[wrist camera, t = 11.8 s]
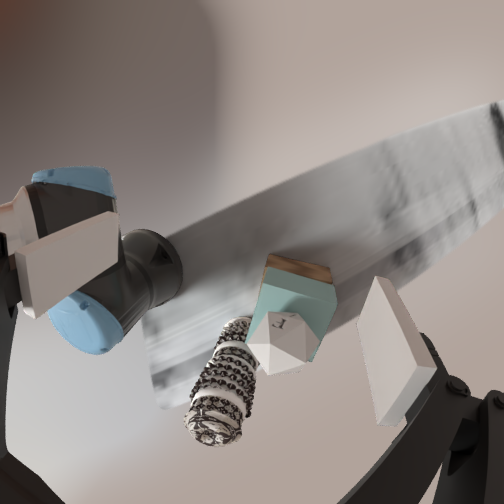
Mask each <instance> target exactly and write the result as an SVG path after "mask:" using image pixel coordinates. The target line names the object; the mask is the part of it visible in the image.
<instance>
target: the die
mask: <svg viewBox="0 0 504 504" xmlns="http://www.w3.org/2000/svg"><path fill="white" fill-rule="evenodd" d="M319 343H320V341H319V340H318V338H317V337H316V335H315V334H314V333H313V331H312V330H311V329H310V327H309V326H308V325H307V323H306V322H305V321H304V320H303V318H302V317H301V316H300V315H299V314H298V313H291V312H288V313H287V312H270V311H268V312H267V313H266V315H265V316H264V318H263V319H262V321H261V322H260V324H259V326H258V327H257V329H256V330H255V332H254V333H253V335H252V336H251V338H250V339H249V341H248V342H247V345H248V347H249V348H250V350H251V351H252V353H253V354H254V356H255V357H256V359H257V360H258V361H259V363H260V364H261V366H262V367H263V369H264V370H265V372H266V373H267V374H268V376H270V375H280V374H289V373H297V372H300V370H301V369H302V368H303V366H304V365H305V364H306V362H307V361H308V359H309V358H310V356H311V355H312V353H313V352H314V350H315V349H316V347H317V346H318V344H319Z"/></svg>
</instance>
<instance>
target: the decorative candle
mask: <svg viewBox="0 0 504 504" xmlns="http://www.w3.org/2000/svg"><path fill="white" fill-rule="evenodd" d="M251 321H252V319H250V318H248V317H237V318H233V319H231V320H230V321H228V322H227V323H226V324H225V327H224V328H223V331H222V332H221V335H223V336H219V341H218V342H217V343H216V345H217V346H215V347H214V351H215V352H214V355H213V357H212V359H211V360H210V361H208V364H207V366H206V367H205V368H204V369H203V370H204V371H203V372H202V373H201V375H200V379H198V382H196V383H195V385H196V386H194V388H193V389H192V391H191V393H192V394H190V399H192V400H191V408H190V411H189V412H188V413H187V414H186V415H185V417H184V423H185V426H186V428H187V429H188V430H189V431H190V434H191V435H192V436H193V437H194V438H195V439H196V440H198V441H199V442H201V443H203V444H206V445H208V446H213V447H221V446H225V445H228V444H232V443H234V442H237V441H238V440H239V439H240V438H241V436H242V431H241V426H242V425H241V424H242V423H243V421H244V420H245V417H246V418H248V417H250V416H251V412H250V410H251V409H252V404H253V402H252V400H253V399H254V396H253V395H252V394H254V392H255V383H256V370H257V367H258V365H259V364H260V363H259V361H258V360H257V359H256V357H255V356H254V354H253V353H252V351H251V350H250V348H249V347H248V345H247V344H245V341H246V337H247V334H248V331H249V327H250V324H251ZM199 389H200V390H199ZM198 390H199V391H198ZM246 412H247V413H246Z"/></svg>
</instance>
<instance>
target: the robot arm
mask: <svg viewBox="0 0 504 504" xmlns="http://www.w3.org/2000/svg"><path fill="white" fill-rule="evenodd" d="M31 181H32V183H33V184H31V185H27V186H23V187H21V188H20V190H19V192H18V194H17V195H16V197H15V198H14V200H13V201H12V202H9V203H6V204H3V205H0V504H65V503H64V502H63V501H62V500H61V499H60V498H59V497H58V496H57V495H56V494H55V493H54V492H53V491H52V490H51V489H50V488H49V487H48V485H47V484H46V483H45V482H44V481H43V480H42V479H41V478H40V477H39V476H38V475H37V474H36V473H34V472H33V471H32V470H30V469H29V468H28V467H26V466H25V465H24V464H22V463H21V462H20V461H19V460H18V459H16V458H15V457H14V456H13V455H12V454H10V453H9V452H8V450H7V446H6V439H5V414H6V392H7V380H8V370H9V362H10V354H11V347H12V341H13V335H14V330H15V324H16V319H17V314H18V308H17V303H19V302H20V301H22V303H23V308H24V312H25V313H26V314H27V315H29V316H31V317H32V318H34V319H37V318H38V317H40V316H41V315H42V314H44V313H45V312H46V311H47V312H48V315H49V318H50V320H51V322H52V324H53V325H54V327H55V328H56V330H57V331H58V332H59V334H60V335H61V336H62V337H63V338H64V339H65V340H66V341H68V342H69V343H70V344H71V345H72V346H74V347H75V348H77V349H79V350H81V351H83V352H85V353H89V354H94V355H99V354H104V353H106V352H108V351H109V350H111V349H112V348H113V347H114V346H115V345H116V344H117V343H119V342H121V340H122V339H123V337H124V336H125V335H126V334H127V333H128V332H129V331H130V330H131V328H132V327H133V326H134V325H135V324H136V323H137V321H138V320H139V319H140V318H141V317H142V316H143V315H144V314H145V312H146V311H147V310H149V309H152V308H154V307H158V306H161V305H163V304H165V303H167V302H168V301H169V300H170V299H171V298H172V297H173V296H174V295H175V294H176V292H177V291H178V289H179V288H180V285H181V282H182V265H181V261H180V259H179V256H178V254H177V252H176V250H175V249H174V247H173V246H172V245H171V244H170V243H169V241H167V240H166V239H165V238H164V237H163V236H161V235H159V234H158V233H156V232H153V231H150V230H145V229H138V230H133V231H131V232H129V233H127V234H125V235H123V236H122V237H121V232H120V226H119V214H118V213H117V206H116V199H117V198H116V196H115V194H114V189H113V184H112V178H111V175H110V173H109V171H108V170H106V169H105V168H102V167H98V166H72V167H61V168H56V169H47V170H41V171H38V172H35V173H34V174H33V178H32V180H31ZM356 325H357V329H358V333H359V337H360V342H361V346H362V350H363V355H364V359H365V364H366V368H367V373H368V377H369V382H370V387H371V392H372V398H373V403H374V408H375V414H376V420H377V425H380V426H397V425H398V423H399V422H400V421H401V420H402V419H403V417H404V416H405V417H406V421H407V425H406V426H405V427H404V429H403V430H402V431H401V432H400V433H399V435H398V436H397V437H396V438H395V439H394V440H393V442H392V444H391V445H390V447H389V448H388V449H387V450H386V451H385V453H384V454H383V455H382V456H381V458H380V459H379V460H378V461H377V462H376V463H375V464H374V466H373V467H372V468H371V469H370V470H369V471H368V473H367V474H366V475H365V476H364V477H363V478H362V479H361V480H360V481H359V482H358V483H357V484H356V486H354V487H353V488H352V489H351V490H350V492H348V494H346V495H345V496H344V497H343V498H342V499H341V500H340V501H339V502H338V503H337V504H418V503H419V502H420V500H421V499H422V497H423V495H424V494H425V492H426V490H427V489H428V487H429V485H430V484H431V482H432V480H433V478H434V477H435V475H436V473H437V471H438V469H439V467H440V466H441V463H442V462H443V463H442V469H441V472H440V477H439V481H438V485H437V489H436V492H435V496H434V500H433V503H432V504H504V393H502V392H500V391H497V390H491V391H490V392H489V393H488V394H487V395H486V397H485V398H484V399H483V400H482V399H478V398H475V397H472V396H471V392H470V390H469V387H468V386H467V385H466V384H465V382H463V381H462V380H461V379H459V378H457V377H455V376H451V375H449V374H448V372H447V370H446V368H445V366H444V365H443V362H442V361H441V359H440V357H439V355H438V353H437V351H436V350H435V347H434V345H433V343H432V342H431V340H430V339H429V338H428V337H427V336H426V335H424V333H420V332H419V331H418V329H417V327H416V325H415V323H414V322H413V320H412V318H411V316H410V314H409V313H408V311H407V309H406V307H405V305H404V304H403V302H402V300H401V298H400V297H399V295H398V293H397V291H396V290H395V288H394V286H393V285H392V283H391V281H390V280H389V279H387V278H383V277H379V276H375V277H374V280H373V283H372V286H371V288H370V291H369V294H368V296H367V299H366V301H365V304H364V306H363V309H362V311H361V314H360V316H359V319H358V321H357V324H356Z"/></svg>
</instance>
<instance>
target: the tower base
mask: <svg viewBox="0 0 504 504" xmlns="http://www.w3.org/2000/svg"><path fill="white" fill-rule="evenodd" d="M268 266H269V267H272V268H276V269H279V270H282V271H286V272H289V273H293V274H296V275H300V276H303V277H306V278H310V279H313V280H317V281H320V282H324V283H327V284H331V285H332V277H331V272H330V268H328V267H323V266H319V265H315V264H310V263H306V262H302V261H297V260H293V259H289V258H284V257H280V256H276V255H271V254H269V256H268V259H267V262H266V265H265V269H264V273H263V278H262V283H261V287H262V284H263V280H264V277H265V274H266V271H267V268H268ZM261 287H260V290H261ZM259 294H260V292H259ZM258 297H259V296H258Z"/></svg>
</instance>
